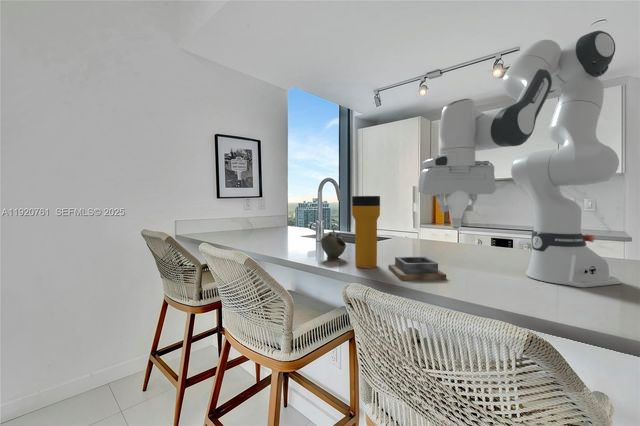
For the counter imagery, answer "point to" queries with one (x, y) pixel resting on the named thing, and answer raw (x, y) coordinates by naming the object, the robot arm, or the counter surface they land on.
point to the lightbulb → (456, 206)
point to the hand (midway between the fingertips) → (456, 211)
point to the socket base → (416, 269)
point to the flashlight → (366, 229)
